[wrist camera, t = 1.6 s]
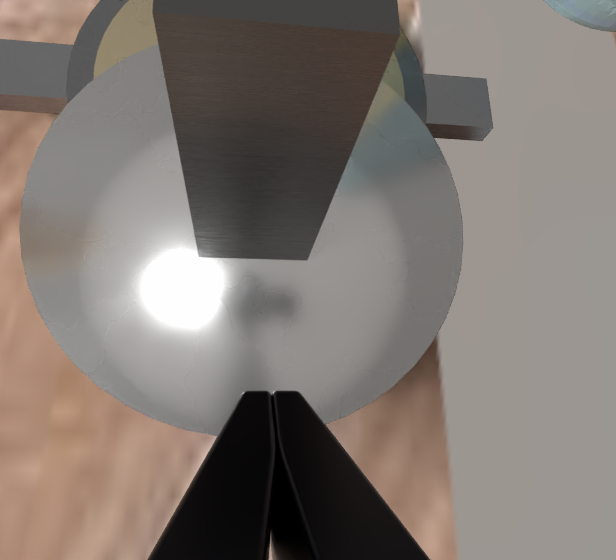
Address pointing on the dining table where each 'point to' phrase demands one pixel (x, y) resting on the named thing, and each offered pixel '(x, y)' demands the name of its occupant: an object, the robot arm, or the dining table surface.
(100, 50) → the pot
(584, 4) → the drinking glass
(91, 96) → the disc with square post
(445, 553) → the dining table surface
